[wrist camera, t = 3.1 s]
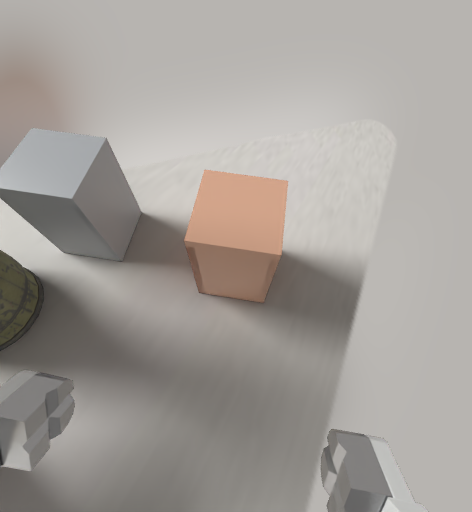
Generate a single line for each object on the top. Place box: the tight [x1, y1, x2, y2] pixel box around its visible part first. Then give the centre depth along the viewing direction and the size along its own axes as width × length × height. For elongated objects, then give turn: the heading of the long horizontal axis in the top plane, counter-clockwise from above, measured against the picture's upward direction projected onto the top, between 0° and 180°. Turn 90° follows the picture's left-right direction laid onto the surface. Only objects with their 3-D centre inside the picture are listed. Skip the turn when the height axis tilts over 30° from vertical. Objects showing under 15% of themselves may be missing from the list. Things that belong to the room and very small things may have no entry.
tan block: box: [184, 170, 288, 303], centre depth 23 cm, size 6×6×10 cm
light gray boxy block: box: [0, 128, 142, 261], centre depth 25 cm, size 6×6×10 cm
